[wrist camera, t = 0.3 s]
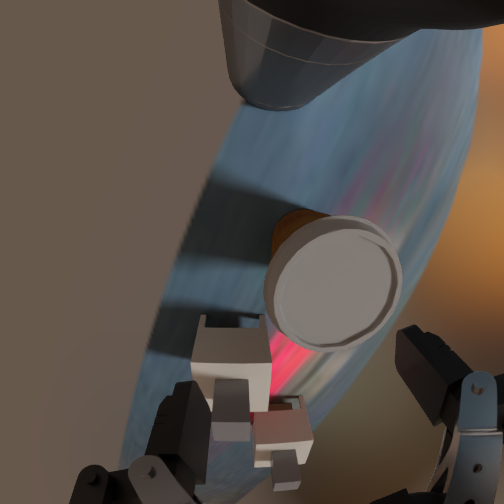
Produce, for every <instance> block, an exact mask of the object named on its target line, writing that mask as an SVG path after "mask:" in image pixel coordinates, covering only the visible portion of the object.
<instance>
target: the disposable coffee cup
mask: <svg viewBox="0 0 504 504" xmlns="http://www.w3.org/2000/svg"><path fill="white" fill-rule="evenodd" d="M401 289H402V270H401V265H400V262H399V259H398V256H397V252H396V249H395V247H394V245H393V243H392V241H391V239H390V238H389V237H388V236H387V235H386V234H385V232H384V231H383V230H382V229H380V228H379V227H378V226H377V225H375V224H373V223H371V222H370V221H368V220H366V219H363V218H359V217H355V216H349V215H334V216H331V215H328V214H324V213H320V212H316V211H313V210H308V209H299V210H296V211H292V212H290V213H288V214H286V215H285V216H284V217H282V218H281V220H280V221H279V222H278V223H277V225H276V226H275V228H274V231H273V233H272V243H271V262H270V263H269V267H268V270H267V273H266V276H265V281H264V292H263V296H264V301H265V306H266V311H267V313H268V315H269V317H270V319H271V321H272V323H273V324H274V325H275V326H276V328H277V329H278V330H279V331H280V332H281V333H283V334H284V335H285V336H287V337H288V338H289V339H290V340H291V341H292V342H294V343H296V344H298V345H299V346H301V347H303V348H305V349H308V350H313V351H317V352H334V351H339V350H344V349H349V348H351V347H354V346H356V345H358V344H360V343H362V342H364V341H365V340H367V339H369V338H370V337H372V336H373V335H374V334H375V333H376V332H378V331H379V330H380V329H381V328H382V326H383V325H384V324H385V323H386V322H387V320H388V319H389V318H390V316H391V315H392V313H393V312H394V309H395V307H396V305H397V303H398V300H399V297H400V293H401Z"/></svg>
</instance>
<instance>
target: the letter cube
mask: <svg viewBox="0 0 504 504" xmlns="http://www.w3.org/2000/svg"><path fill="white" fill-rule="evenodd" d="M282 410H293V409H292V404H291V403H281V404H268V411H282Z"/></svg>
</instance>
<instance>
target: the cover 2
mask: <svg viewBox="0 0 504 504" xmlns="http://www.w3.org/2000/svg"><path fill="white" fill-rule="evenodd" d="M298 400H299V404H300V408H301V409H296V410H282V411H267V412H254V422H253V423H252V432H253V450H254V467H271V474H272V484H273V491H283V490H292V489H297V488H298V487H299V485H300V482H301V478H300V472H299V467H298V464H305V462H306V459H307V457H308V454H309V452H310V449H311V446H312V443H313V441H314V439H313V435H312V431H311V426H310V422H309V418H308V414H307V410H306V406H305V402H304V398H303V396H299V398H298Z"/></svg>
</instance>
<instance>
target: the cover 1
mask: <svg viewBox="0 0 504 504" xmlns="http://www.w3.org/2000/svg"><path fill="white" fill-rule="evenodd" d="M259 323H260V328H206V327H205V325H206V315H201V316H200V320H199V325H198V329H197V334H196V338H195V343H194V348H193V352H192V357H191V362H190V363H191V369H192V376H193V381H196V382H197V383H198V385H199V387H200V389H201V391H202V393H203V395H204V397H205V399H206V401H207V403H208V405H209V407H210V411H211V412H212V419H211V423H212V430H213V436H214V441H250V423H251V422H250V412H267V411H268V404H269V393H270V382H271V371H272V359H271V352H270V346H269V339H268V333H267V326H266V319H265V315H259Z"/></svg>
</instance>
